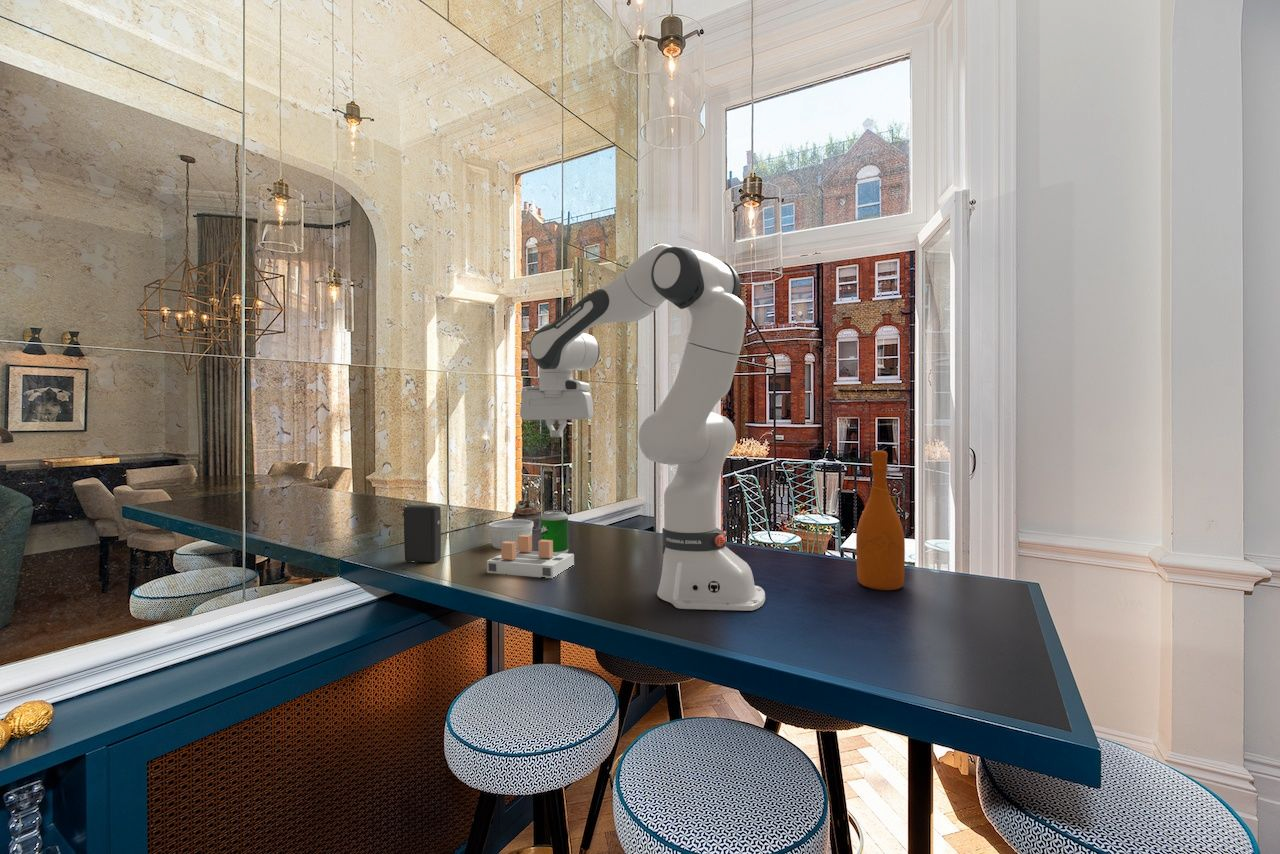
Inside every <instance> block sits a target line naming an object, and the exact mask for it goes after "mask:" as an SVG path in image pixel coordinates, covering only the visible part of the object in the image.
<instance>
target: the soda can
mask: <svg viewBox="0 0 1280 854" xmlns="http://www.w3.org/2000/svg"><path fill="white" fill-rule="evenodd" d="M540 540H553V553H568V552H569V515H568V514H567V513H566V512H565V510H557V509H556V510H547V511H544V512H543V513H542V514H541V515H540Z"/></svg>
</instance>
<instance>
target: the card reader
mask: <svg viewBox="0 0 1280 854" xmlns="http://www.w3.org/2000/svg"><path fill="white" fill-rule="evenodd" d="M441 520H442V516H441V507H440V506H438V505H429V504H428V505H421V504H420V505H418V504H417V505H416V504H413V505H407V506H405V507H404V508H403V546H404V547H403V548H404V560H405V562H408V561H415V562H414V563H417V562H434V563H437V562H439V561H440V560H441V555H442V549H441V548H442V524H441V522H442V521H441Z"/></svg>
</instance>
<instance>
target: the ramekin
mask: <svg viewBox="0 0 1280 854" xmlns="http://www.w3.org/2000/svg"><path fill="white" fill-rule="evenodd" d="M533 526H534V525H533V521H530V520H519V519H516V520H513V519H504V520H503V519H501V520H498V521H497V520H496V521H493V522H490V523H489V524H488V530H489V537H490V543H491V546H492V547H493V549H496V550H501V543H502V542H505V541H511V542H516V550H518V536H520V535H532V536H533V531H532V529H533Z"/></svg>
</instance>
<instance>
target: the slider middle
mask: <svg viewBox="0 0 1280 854" xmlns="http://www.w3.org/2000/svg"><path fill="white" fill-rule="evenodd" d="M537 542H538V545H537V546H538V549H537V550H538V557H541V558H551V557H552V556H553V540H541V539H540V540H538V541H537Z"/></svg>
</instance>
